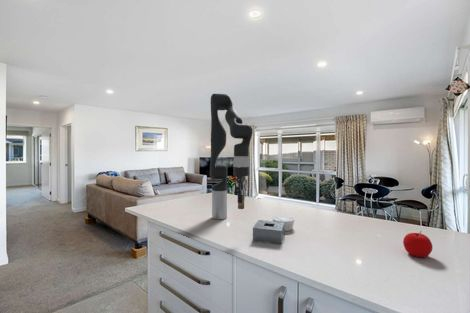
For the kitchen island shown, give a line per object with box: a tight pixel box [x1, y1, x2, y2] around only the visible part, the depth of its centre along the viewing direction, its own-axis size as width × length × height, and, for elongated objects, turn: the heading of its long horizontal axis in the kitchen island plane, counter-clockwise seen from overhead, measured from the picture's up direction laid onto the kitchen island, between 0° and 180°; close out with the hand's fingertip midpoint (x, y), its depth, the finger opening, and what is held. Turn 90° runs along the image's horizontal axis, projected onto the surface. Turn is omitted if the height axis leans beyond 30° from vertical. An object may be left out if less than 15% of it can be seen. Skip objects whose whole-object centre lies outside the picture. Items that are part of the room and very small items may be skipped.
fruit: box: [402, 230, 433, 258], centre depth 91 cm, size 9×9×10 cm
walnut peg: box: [237, 190, 245, 210], centre depth 110 cm, size 3×3×10 cm
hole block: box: [252, 219, 285, 245], centre depth 110 cm, size 13×13×6 cm
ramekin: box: [272, 215, 295, 232], centre depth 124 cm, size 11×11×5 cm
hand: (241, 201), depth 110 cm, fingers closed on walnut peg, 3 cm apart
